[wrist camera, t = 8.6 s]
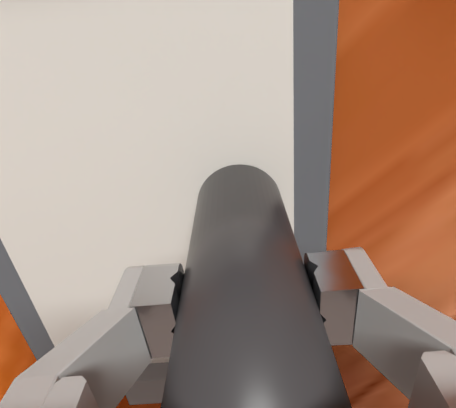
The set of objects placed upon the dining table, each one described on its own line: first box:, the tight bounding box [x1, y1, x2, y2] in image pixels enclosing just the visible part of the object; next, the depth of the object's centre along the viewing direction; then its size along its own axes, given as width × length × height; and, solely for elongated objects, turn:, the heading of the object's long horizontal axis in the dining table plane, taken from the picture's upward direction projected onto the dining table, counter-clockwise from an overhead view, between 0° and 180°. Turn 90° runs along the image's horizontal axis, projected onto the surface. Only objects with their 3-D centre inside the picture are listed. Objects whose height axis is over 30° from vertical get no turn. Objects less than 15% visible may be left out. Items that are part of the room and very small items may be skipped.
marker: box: [161, 164, 352, 408], centre depth 8 cm, size 4×4×13 cm
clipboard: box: [0, 0, 339, 405], centre depth 14 cm, size 22×16×2 cm
